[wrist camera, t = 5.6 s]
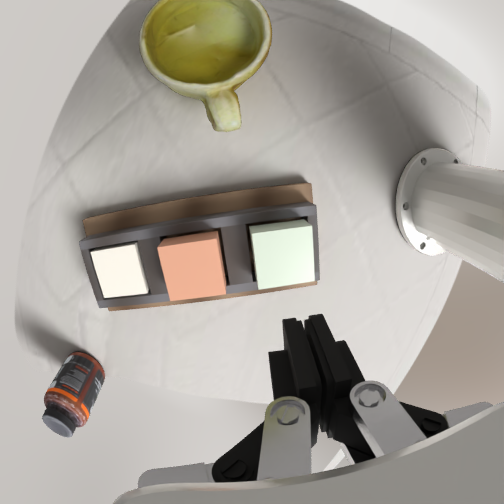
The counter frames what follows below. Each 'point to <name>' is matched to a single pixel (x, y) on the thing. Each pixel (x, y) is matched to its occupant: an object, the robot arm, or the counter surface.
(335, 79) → the counter surface
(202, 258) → the key terracotta
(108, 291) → the key cream
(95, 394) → the supplement bottle
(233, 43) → the mug
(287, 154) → the counter surface
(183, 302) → the key panel
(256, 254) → the key sage
